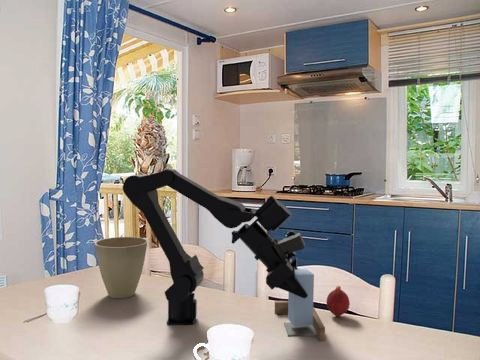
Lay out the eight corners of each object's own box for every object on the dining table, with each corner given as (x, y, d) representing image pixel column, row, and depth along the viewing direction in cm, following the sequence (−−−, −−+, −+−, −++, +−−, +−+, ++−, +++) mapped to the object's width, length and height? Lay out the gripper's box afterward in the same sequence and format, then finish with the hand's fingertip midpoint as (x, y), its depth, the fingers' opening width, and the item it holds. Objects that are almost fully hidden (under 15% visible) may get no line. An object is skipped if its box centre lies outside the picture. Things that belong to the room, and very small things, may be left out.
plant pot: (84, 297, 117) (83, 242, 117) (123, 284, 130) (123, 235, 129) (119, 307, 109) (119, 249, 109) (158, 292, 122) (157, 240, 121)
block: (294, 326, 93) (295, 275, 92) (287, 318, 98) (289, 269, 97) (312, 325, 94) (314, 274, 93) (305, 317, 98) (306, 269, 98)
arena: (282, 340, 90) (283, 327, 90) (274, 312, 107) (274, 300, 107) (324, 340, 90) (325, 327, 90) (309, 311, 107) (310, 300, 107)
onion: (349, 322, 101) (350, 290, 100) (326, 320, 102) (326, 288, 101) (348, 313, 106) (349, 283, 106) (326, 311, 108) (326, 282, 107)
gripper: (282, 228, 86) (333, 282, 85) (288, 216, 105) (330, 260, 103) (245, 262, 88) (295, 316, 87) (257, 244, 106) (299, 289, 105)
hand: (306, 292), depth 95 cm, fingers closed on block, 6 cm apart
